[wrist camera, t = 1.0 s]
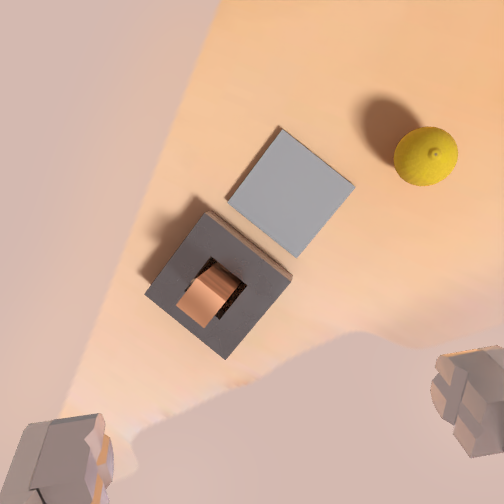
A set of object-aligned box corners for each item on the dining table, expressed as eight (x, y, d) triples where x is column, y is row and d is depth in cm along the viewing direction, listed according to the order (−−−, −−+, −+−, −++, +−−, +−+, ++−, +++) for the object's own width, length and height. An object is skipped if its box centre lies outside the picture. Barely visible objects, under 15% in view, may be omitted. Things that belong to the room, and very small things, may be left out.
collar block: (211, 210, 48) (204, 212, 45) (292, 275, 48) (291, 281, 45) (154, 287, 51) (144, 294, 48) (230, 349, 50) (225, 360, 47)
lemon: (376, 164, 44) (389, 160, 36) (412, 121, 43) (433, 107, 35) (417, 196, 44) (439, 199, 36) (454, 153, 43) (484, 147, 35)
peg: (218, 260, 49) (196, 277, 40) (242, 280, 49) (225, 301, 40) (200, 283, 50) (175, 305, 41) (224, 302, 49) (204, 328, 41)
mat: (283, 130, 45) (282, 129, 44) (355, 187, 45) (355, 187, 44) (228, 202, 47) (227, 202, 47) (296, 257, 47) (296, 258, 46)
